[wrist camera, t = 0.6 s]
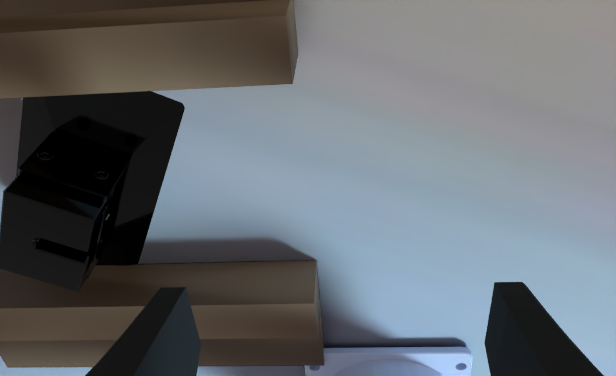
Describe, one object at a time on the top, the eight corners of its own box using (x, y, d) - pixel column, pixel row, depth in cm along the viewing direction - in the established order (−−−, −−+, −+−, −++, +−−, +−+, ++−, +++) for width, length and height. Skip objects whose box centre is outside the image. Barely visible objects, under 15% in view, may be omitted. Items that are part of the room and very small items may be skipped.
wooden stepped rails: (324, 352, 26) (323, 396, 24) (15, 354, 28) (-11, 397, 26) (279, -161, 15) (268, -157, 13) (-256, -113, 16) (-345, -103, 14)
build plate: (148, 294, 26) (114, 378, 22) (-8, 247, 25) (-72, 327, 21) (220, 70, 19) (189, 135, 15) (9, -12, 18) (-82, 36, 14)
